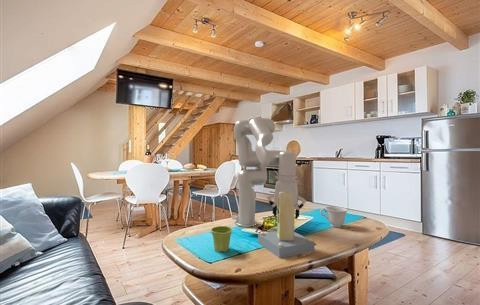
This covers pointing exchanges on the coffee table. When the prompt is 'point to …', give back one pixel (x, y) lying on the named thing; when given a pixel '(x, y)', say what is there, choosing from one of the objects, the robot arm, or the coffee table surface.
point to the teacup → (335, 215)
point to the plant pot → (221, 237)
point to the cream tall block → (285, 217)
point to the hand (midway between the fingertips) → (285, 216)
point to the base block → (285, 244)
